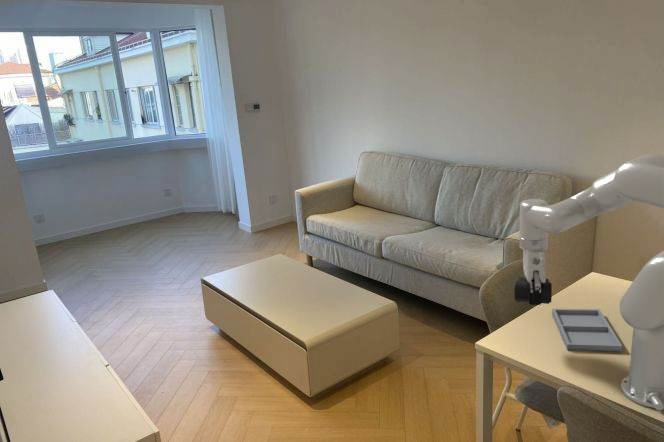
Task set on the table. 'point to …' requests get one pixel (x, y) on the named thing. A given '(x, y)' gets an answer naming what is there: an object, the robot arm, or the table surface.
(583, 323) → the divided grey tray
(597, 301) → the table surface
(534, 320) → the table surface
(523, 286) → the end cap
